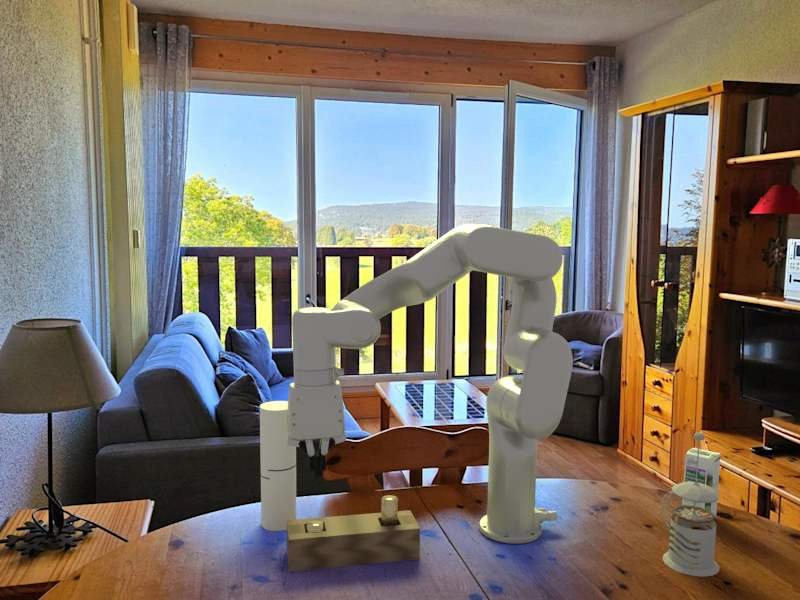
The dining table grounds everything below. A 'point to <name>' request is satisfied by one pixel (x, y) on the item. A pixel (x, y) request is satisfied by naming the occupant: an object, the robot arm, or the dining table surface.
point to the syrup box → (702, 474)
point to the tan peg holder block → (352, 541)
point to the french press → (694, 554)
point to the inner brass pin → (389, 510)
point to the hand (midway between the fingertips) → (317, 474)
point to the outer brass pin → (314, 526)
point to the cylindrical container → (276, 467)
